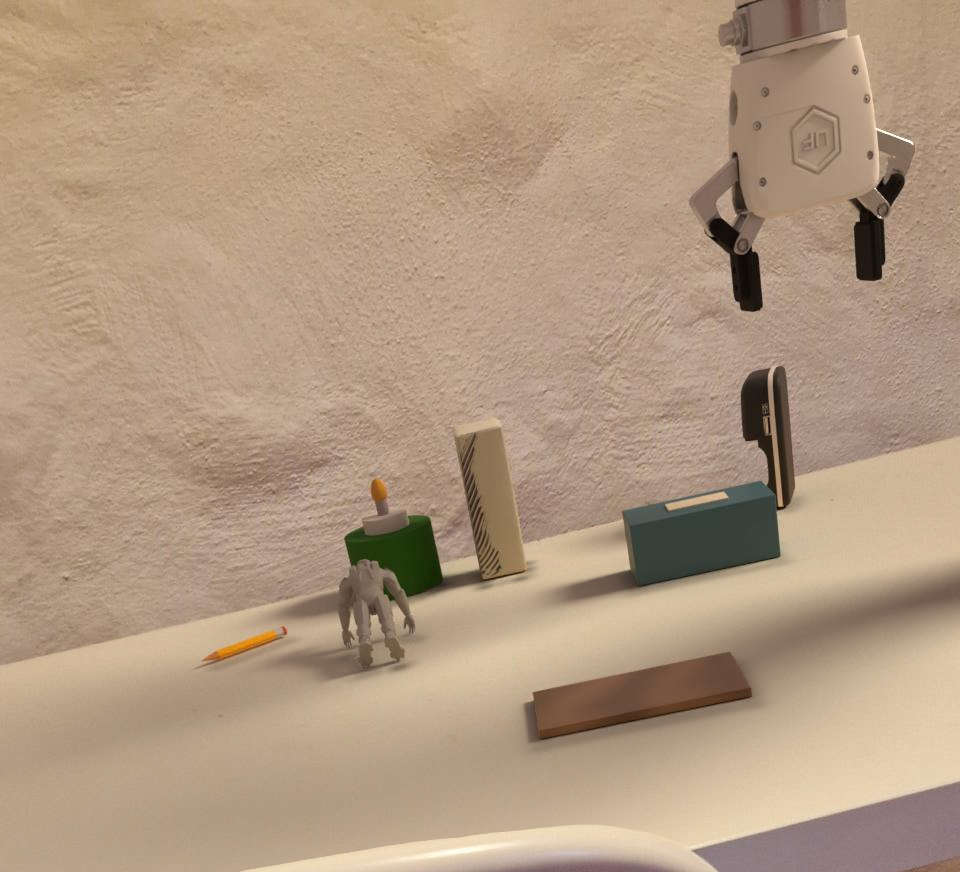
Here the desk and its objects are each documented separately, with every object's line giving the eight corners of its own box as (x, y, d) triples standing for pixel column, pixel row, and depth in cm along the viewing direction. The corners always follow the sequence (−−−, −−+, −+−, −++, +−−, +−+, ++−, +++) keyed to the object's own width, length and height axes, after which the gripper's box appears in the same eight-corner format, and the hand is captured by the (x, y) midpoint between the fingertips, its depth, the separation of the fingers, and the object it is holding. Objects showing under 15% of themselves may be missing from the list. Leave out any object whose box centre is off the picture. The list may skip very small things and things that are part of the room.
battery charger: (756, 495, 135) (743, 368, 129) (796, 489, 134) (785, 360, 128) (748, 514, 130) (735, 382, 124) (790, 508, 128) (779, 374, 122)
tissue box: (767, 539, 121) (761, 478, 118) (780, 556, 116) (775, 492, 113) (630, 569, 122) (621, 508, 119) (637, 586, 117) (628, 524, 114)
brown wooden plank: (731, 659, 97) (730, 650, 97) (752, 696, 90) (751, 687, 90) (533, 699, 99) (532, 691, 98) (539, 739, 92) (538, 730, 91)
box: (478, 568, 133) (450, 426, 126) (524, 558, 133) (497, 415, 126) (483, 582, 129) (453, 435, 122) (529, 571, 128) (502, 423, 122)
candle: (351, 590, 136) (324, 484, 131) (431, 567, 137) (408, 461, 132) (367, 607, 129) (340, 496, 124) (452, 583, 130) (428, 472, 125)
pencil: (288, 634, 127) (285, 627, 126) (203, 665, 124) (200, 658, 123) (284, 633, 127) (282, 625, 127) (199, 664, 124) (197, 656, 124)
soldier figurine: (427, 680, 115) (409, 595, 122) (414, 626, 111) (396, 542, 118) (352, 697, 115) (339, 612, 123) (337, 644, 111) (324, 559, 118)
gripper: (693, 49, 95) (721, 325, 104) (931, -9, 96) (938, 269, 105) (659, 61, 101) (688, 320, 110) (882, 7, 103) (893, 267, 111)
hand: (810, 295), depth 108 cm, fingers open, 9 cm apart
